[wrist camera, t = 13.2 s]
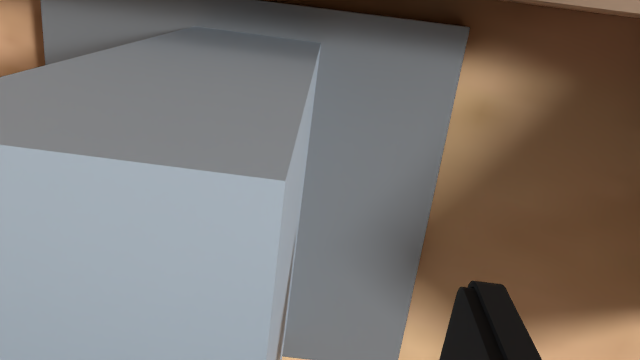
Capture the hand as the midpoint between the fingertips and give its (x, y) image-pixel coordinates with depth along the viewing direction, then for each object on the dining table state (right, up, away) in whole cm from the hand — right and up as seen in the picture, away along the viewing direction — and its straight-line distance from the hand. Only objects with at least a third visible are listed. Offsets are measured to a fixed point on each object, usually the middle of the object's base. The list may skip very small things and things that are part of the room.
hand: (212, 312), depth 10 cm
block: (0, +2, +6) cm, 7 cm away
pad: (0, +2, +7) cm, 7 cm away
